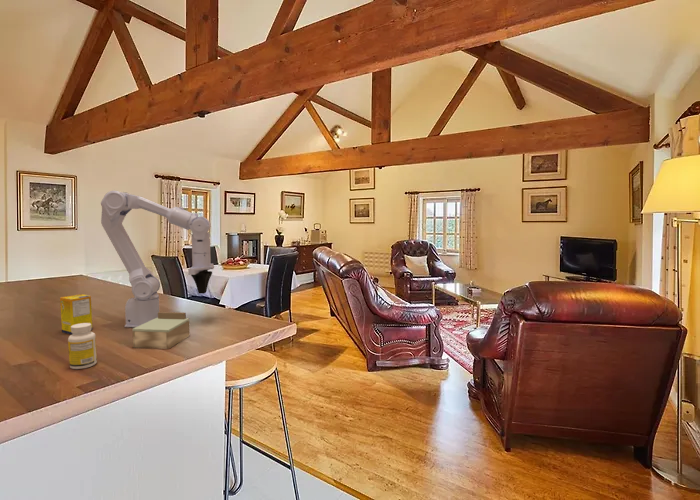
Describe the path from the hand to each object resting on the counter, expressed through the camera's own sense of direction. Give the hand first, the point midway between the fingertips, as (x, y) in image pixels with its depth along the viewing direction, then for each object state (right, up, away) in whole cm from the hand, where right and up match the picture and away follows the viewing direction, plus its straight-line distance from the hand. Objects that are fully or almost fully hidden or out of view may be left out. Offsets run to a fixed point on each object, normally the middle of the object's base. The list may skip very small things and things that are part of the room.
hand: (202, 293), depth 131 cm
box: (-4, -12, -20) cm, 23 cm away
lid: (-4, -7, -20) cm, 22 cm away
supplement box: (-34, -11, -11) cm, 38 cm away
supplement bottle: (-14, -13, -38) cm, 43 cm away
